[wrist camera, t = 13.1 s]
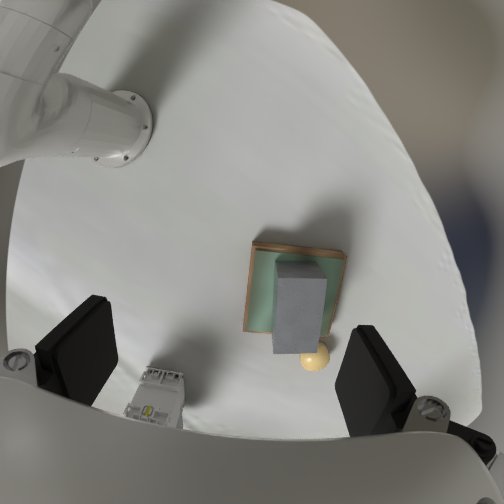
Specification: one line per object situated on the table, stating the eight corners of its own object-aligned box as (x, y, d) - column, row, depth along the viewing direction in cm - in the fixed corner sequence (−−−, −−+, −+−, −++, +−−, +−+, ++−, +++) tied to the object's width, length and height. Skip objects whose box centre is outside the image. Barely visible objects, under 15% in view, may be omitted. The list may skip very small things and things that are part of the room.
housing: (274, 260, 41) (278, 278, 34) (316, 261, 41) (327, 278, 34) (271, 327, 44) (273, 353, 37) (309, 327, 44) (317, 353, 37)
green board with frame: (243, 323, 47) (242, 332, 44) (252, 241, 43) (252, 246, 40) (325, 329, 47) (328, 338, 44) (342, 251, 44) (347, 256, 41)
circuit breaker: (154, 413, 54) (136, 463, 40) (146, 366, 50) (120, 419, 36) (186, 419, 54) (173, 471, 40) (183, 372, 50) (164, 430, 36)
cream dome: (297, 362, 50) (298, 370, 47) (302, 339, 48) (304, 347, 46) (323, 363, 50) (326, 371, 47) (329, 341, 48) (332, 348, 46)
